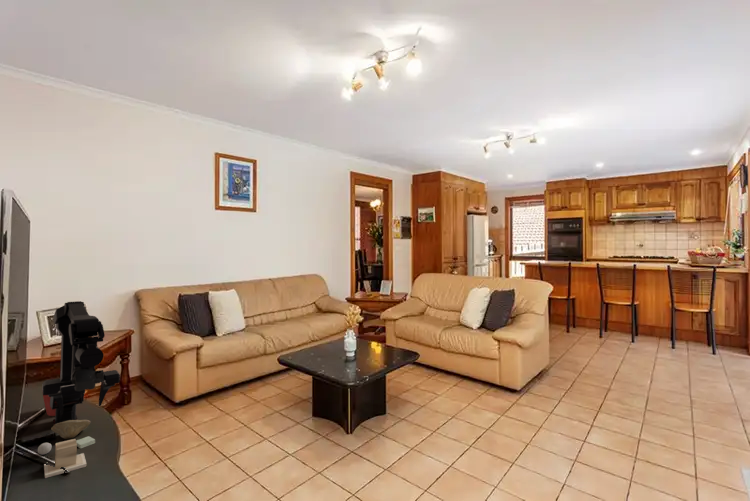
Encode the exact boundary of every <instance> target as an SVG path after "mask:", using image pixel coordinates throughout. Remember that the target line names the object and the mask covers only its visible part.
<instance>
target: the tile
mask: <svg viewBox="0 0 750 501" xmlns="http://www.w3.org/2000/svg"><path fill="white" fill-rule="evenodd" d="M76 443H77V447H78V448H79V449H83V448H85V447H89V446H91V445H94V444H95V443H96V439H95V438H93V437H91V436H89V435H88V436H85V437H83V438H79V439H77V440H76Z"/></svg>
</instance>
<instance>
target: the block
mask: <svg viewBox="0 0 750 501" xmlns="http://www.w3.org/2000/svg"><path fill="white" fill-rule="evenodd" d="M76 441H77V440H76V438H71V439H67V440H64V441H59V442H56V443H55V448H54V461H55V470H57V469H60V468H61V467H68V466H71V465H75V464H76V455H78V453H77V452H78V451H77V450H78V448H77V443H76Z"/></svg>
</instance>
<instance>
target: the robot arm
mask: <svg viewBox="0 0 750 501" xmlns="http://www.w3.org/2000/svg"><path fill="white" fill-rule="evenodd" d="M53 324H54V325H55V328H56V330H57V331H58V332H59V333H60V335H61V336H60V337H61V339H60V340H61V343H60V345H61V346H60V348H61V349H60V377H59V378H54V379H47V380H45V379H44V381H43V382H42V387H41V393H42V392H43V393H42V396H43V395H48V396H49V397H51V398H50V407H51V409H52V410H53V409H56V412H55V416H54V419H53V420H52V422H53V426H54V425H55V424H57V423H61V422H64V421H69V420H79V419H78V416H77V405H80V404H83V402H84V398H85V394H86V390H93V389H95V388H96V384H97V385H98V384H100V389H99V396H98V406H99V407H101V406H102V404H103V401H104V399H105V397H106V394H107V393H108V391H109V389H111V387H114V386H116V384H119V383H121V374H120V372H119V371H118V370H117V369H112V370H106V371H104V370H103V369H102V370H96V368H95V367H97V366H98V365H99V364H101V363H102V361H103V360H104V353H103V350H102V349H101V348H100V347H98V343H101V342H104V338H105V335H106V334H105V330H104V324H102V321H101V320H99V318H98V317H97V316H94V315H89V313H88V311H87V307H86V306H85V302H84V301H79V300H78V301H67V302H65V303H64V305H62V306H60V307H58V308H56V309H55V312H54V315H53ZM55 402H56V403H55Z"/></svg>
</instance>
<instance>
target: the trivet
mask: <svg viewBox="0 0 750 501" xmlns="http://www.w3.org/2000/svg"><path fill="white" fill-rule="evenodd" d="M53 461H54V462H55V460H53ZM85 467H87V460H86V457H85V453H84V452H82V453H80V454H79V453H78V454H77V455H76V464H75V465H71V466H68V467H65V468H66V469H65V470H68V471H69V472H72V471H76V470H79V469H82V468H85ZM65 470H63V469H57V470H55V467H53V466H50V465H46V464H43V471H44V478H45V479H47V478H51V477H54V476H58V475H61V474H64V471H65Z"/></svg>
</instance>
